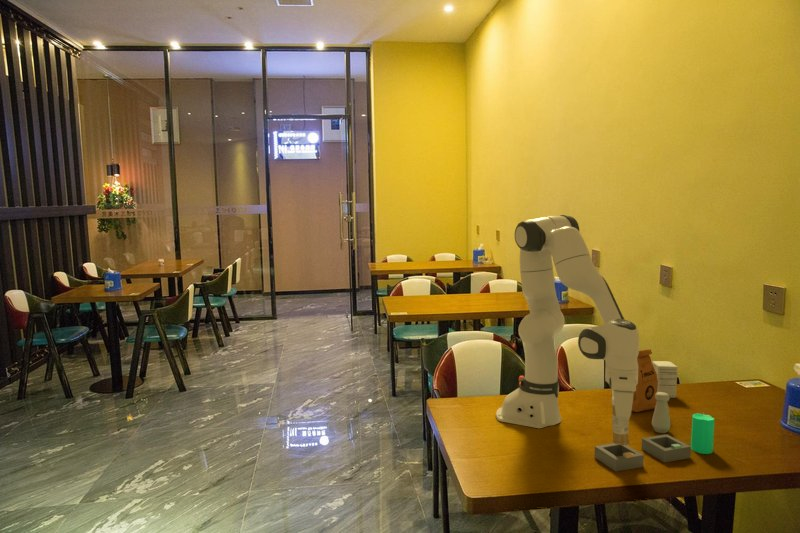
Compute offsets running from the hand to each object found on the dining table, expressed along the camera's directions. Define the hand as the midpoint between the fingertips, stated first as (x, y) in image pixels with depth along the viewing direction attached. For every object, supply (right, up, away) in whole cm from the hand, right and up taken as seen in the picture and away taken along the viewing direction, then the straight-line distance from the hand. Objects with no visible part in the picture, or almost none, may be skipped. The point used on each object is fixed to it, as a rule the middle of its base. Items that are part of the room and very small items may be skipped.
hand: (620, 422), depth 165 cm
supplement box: (+40, -6, +59) cm, 71 cm away
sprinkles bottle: (0, -6, +1) cm, 6 cm away
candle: (+29, -11, +9) cm, 32 cm away
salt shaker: (+23, -10, +24) cm, 34 cm away
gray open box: (0, -12, +2) cm, 12 cm away
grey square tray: (+16, -11, +7) cm, 21 cm away
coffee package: (+24, -7, +44) cm, 51 cm away
